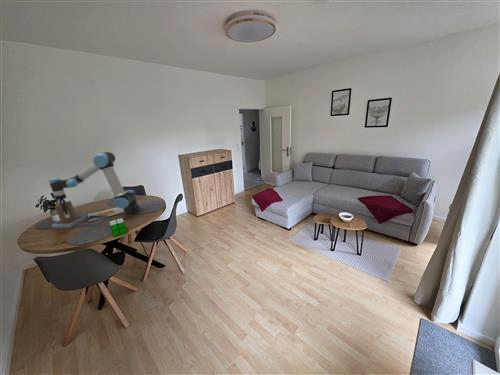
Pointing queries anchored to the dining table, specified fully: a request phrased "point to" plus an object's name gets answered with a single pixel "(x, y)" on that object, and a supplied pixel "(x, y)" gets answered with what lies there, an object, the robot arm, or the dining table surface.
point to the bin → (60, 225)
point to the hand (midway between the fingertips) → (67, 215)
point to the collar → (92, 223)
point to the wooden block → (70, 211)
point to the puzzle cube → (118, 227)
